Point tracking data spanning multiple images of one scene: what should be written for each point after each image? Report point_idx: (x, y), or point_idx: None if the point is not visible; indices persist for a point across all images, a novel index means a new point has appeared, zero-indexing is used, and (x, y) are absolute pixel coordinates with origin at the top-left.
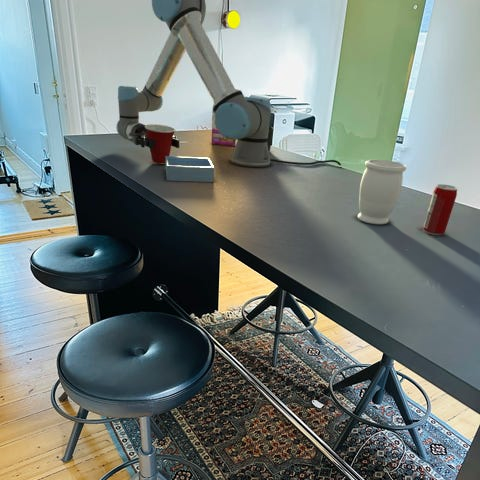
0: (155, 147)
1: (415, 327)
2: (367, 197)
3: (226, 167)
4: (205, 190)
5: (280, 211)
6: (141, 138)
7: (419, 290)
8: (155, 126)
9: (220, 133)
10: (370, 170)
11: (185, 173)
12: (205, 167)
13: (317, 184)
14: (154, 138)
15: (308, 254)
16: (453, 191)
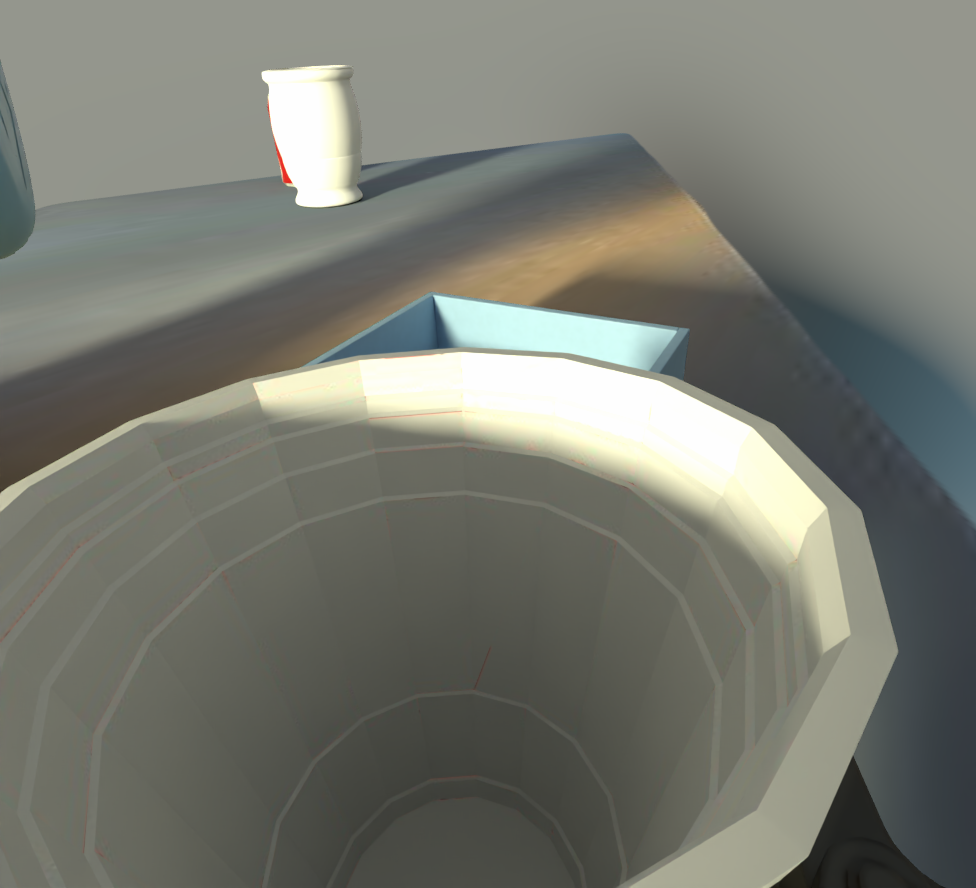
0: (599, 667)
1: (604, 142)
2: (361, 141)
3: None
4: None
5: (470, 228)
6: (912, 879)
7: (533, 153)
8: None
9: (16, 224)
10: (347, 82)
11: (575, 350)
12: (471, 298)
13: (62, 300)
14: (630, 547)
15: (587, 175)
16: None
